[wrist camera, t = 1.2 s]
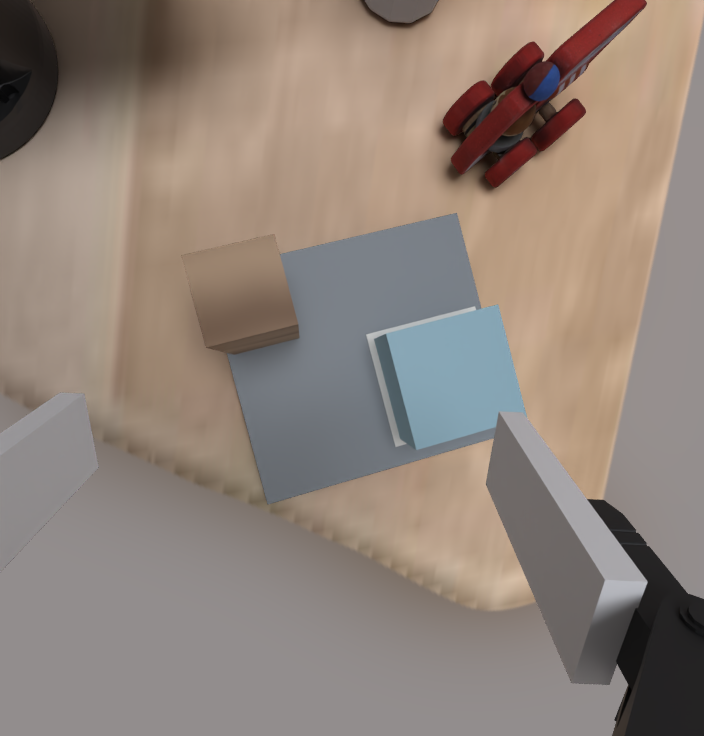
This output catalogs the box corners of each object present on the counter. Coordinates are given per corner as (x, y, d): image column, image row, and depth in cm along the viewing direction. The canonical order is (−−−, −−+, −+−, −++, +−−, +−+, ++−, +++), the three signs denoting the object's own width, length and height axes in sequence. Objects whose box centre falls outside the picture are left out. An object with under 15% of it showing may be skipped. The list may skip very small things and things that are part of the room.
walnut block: (216, 289, 34) (181, 255, 24) (282, 274, 34) (274, 233, 24) (234, 354, 34) (206, 347, 24) (299, 338, 34) (298, 324, 24)
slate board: (208, 275, 35) (204, 271, 33) (451, 218, 37) (457, 212, 36) (268, 499, 35) (267, 504, 34) (506, 430, 37) (513, 432, 36)
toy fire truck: (418, 143, 37) (464, 53, 26) (529, 55, 38) (615, -64, 27) (471, 210, 37) (536, 148, 27) (579, 122, 38) (682, 29, 28)
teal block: (374, 339, 35) (385, 333, 30) (470, 313, 36) (498, 304, 31) (400, 439, 35) (416, 450, 30) (496, 411, 36) (526, 418, 31)
